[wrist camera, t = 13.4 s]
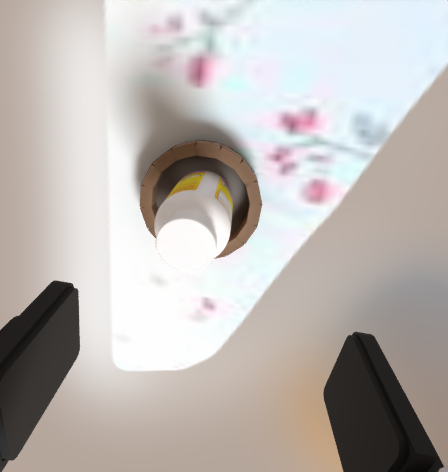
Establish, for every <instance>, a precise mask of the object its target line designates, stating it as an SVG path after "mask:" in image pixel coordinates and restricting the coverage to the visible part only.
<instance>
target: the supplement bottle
mask: <svg viewBox="0 0 448 472" xmlns="http://www.w3.org/2000/svg"><path fill="white" fill-rule="evenodd" d="M232 209H233V196H232V192H231V189H230V187H229V185H228V183H227V182H226V181H225V180H224V179H223V178H222V177H221V176H219V175H218V174H216V173H214V172H211V171H206V170H198V171H194V172H191V173H189V174H187V175H185V176H184V177H183V178H182V179H181V180H180V181H179V182H178V183H177V185H176V186H175V187H174V189H173V190H172V191H171V193H170V194H169V195H168V197H167V198H166V199H165V201H164V202H163V203H162V205H161V206H160V208H159V209H158V211H157V214H156V217H155V223H154V229H155V235H156V250H157V253H158V255H159V257H160V259H161V260H162V261H163V262H164V263H165V264H166V265H167V266H168V267H170V268H172V269H174V270H176V271H179V272H184V273H192V272H197V271H200V270H202V269H204V268H205V267H207V266H208V265H209V264H210V263H211V261H212V260H213V258H215V257H216V256H218V255H219V254H220V253H221V252H222V251H223V250H224V248H225V246H226V245H227V243H228V240H229V237H230V231H231V220H232Z"/></svg>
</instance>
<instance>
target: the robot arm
mask: <svg viewBox="0 0 448 472" xmlns="http://www.w3.org/2000/svg"><path fill="white" fill-rule="evenodd" d="M79 350H80V336H79V301H78V289H76V288H74V286H73V284H72V283H67V282H61V281H53V282H51V283H50V285H48V286H47V287H46V289H45V290H44V291H43V292H42V293H41V294H40V295H39V296H38V297H37V298H36V299H35V300H34V301H33V302H32V303H31V304H30V305H29V306H28V307H27V308H26V309H25V310H24V311H23V312H22V313H21V315H19V316H16V317H14V318H13V319H11V320H10V321H9V322H8V323H7V324H6V325H5V326H4V327H3V328H2V329H1V330H0V472H2V470H3V468H4V467H5V466H6V464H7V462H8V461H9V460H14V459H15V458H16V457H17V456H18V454H19V453H20V451H21V450H22V448H23V446H24V445H25V443H26V441H27V440H28V438H29V436H30V435H31V433H32V431H33V430H34V428H35V426H36V425H37V423H38V422H39V420H40V418H41V416H42V415H43V413H44V411H45V410H46V408H47V406H48V405H49V403H50V402H51V400H52V398H53V397H54V395H55V393H56V392H57V390H58V388H59V387H60V385H61V383H62V382H63V380H64V378H65V377H66V375H67V373H68V372H69V370H70V368H71V367H72V365H73V363H74V362H75V360H76V358H77V356H78V354H79ZM324 401H325V404H326V408H327V412H328V415H329V419H330V423H331V427H332V431H333V434H334V438H335V441H336V445H337V449H338V453H339V456H340V460H341V464H342V468H343V471H344V472H448V467H444V466H443V464H442V462H441V460H440V458H439V456H438V454H437V452H436V450H435V448H434V447H433V445H432V443H431V441H430V439H429V437H428V435H427V434H426V432H425V430H424V428H423V426H422V424H421V423H420V421H419V419H418V417H417V415H416V413H415V412H414V409H413V408H412V406H411V404H410V402H409V400H408V398H407V396H406V394H405V393H404V391H403V389H402V387H401V385H400V383H399V381H398V380H397V378H396V376H395V374H394V372H393V370H392V368H391V367H390V365H389V363H388V361H387V359H386V358H385V355H384V354H383V352H382V350H381V349H380V346H379V344H378V342H377V341H376V339H375V337H374V336H373V335H371V334H365V333H360V332H354V333H353V334H352V335H349V336H348V337H347V339H346V341H345V343H344V345H343V347H342V350H341V352H340V354H339V356H338V359H337V361H336V363H335V365H334V368H333V370H332V372H331V374H330V377H329V379H328V381H327V383H326V386H325V388H324Z"/></svg>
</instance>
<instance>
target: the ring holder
mask: <svg viewBox="0 0 448 472" xmlns="http://www.w3.org/2000/svg"><path fill="white" fill-rule="evenodd" d="M198 170H206V171H211V172H214V173H216V174H218V175H219V176H221V177H222V178H223V179H224V180H225V181H226V182H227V183H228V185H229V187H230V189H231V192H232V196H233V209H232V220H231V231H230V237H229V240H228V243H227V245H226V246H225V248H224V250H223V251H222V252H221V253H220V254H219V255H218V256H216V257H215V258H220V257H225V256H226V255H229V254H231V253H232V252H234V251H235V250H237V249H238V248H240V247H242V246H243V245H244V243H246V242H247V241H248V239H249V238H250V236H251V235H252V233H253V232H254V231H255V229H256V228H257V226H258V221H259V217H260V212H261V207H262V201H261V196H260V191H259V187H258V182H257V177H256V175H255V174H254V172H253V171H252V169H251V168H250V166H249V165H248V163H247V162H246V161H245V159H244V158H242V156H240V155H239V154H238V153H236V152H235V151H234V150H232V149H230V148H229V147H227V146H225V145H222V144H219V143H216V142H211V141H201V140H198V141H197V140H196V141H191V142H186V143H183V144H180V145H176V146H174V147H172V148H171V149H170V150H168V151H167V152H166V153H165V154H163V155H162V156H161V157H159V158H158V159H157V160H156V161H154V162H153V164H151V166H150V168H149V170H148V172H147V174H146V176H145V178H144V180H143V182H142V185H141V196H140V207H141V208H140V209H141V212H142V215H143V218H144V220H145V223H146V226H147V228H149V229H148V230H149V231H150V232H151V234H152V235H153V236H154V237H155V238H156V235H155V229H154V223H155V217H156V214H157V211H158V209H159V208H160V206H161V205H162V203H163V202H164V201H165V199H166V198H167V197H168V195H169V194H170V193H171V191H172V190H173V189H174V187H175V186H176V185H177V183H178V182H179V181H180V180H181V179H182V178H183V177H184V176H185V175H187V174H189V173H191V172H194V171H198ZM215 258H213V259H215Z"/></svg>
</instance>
